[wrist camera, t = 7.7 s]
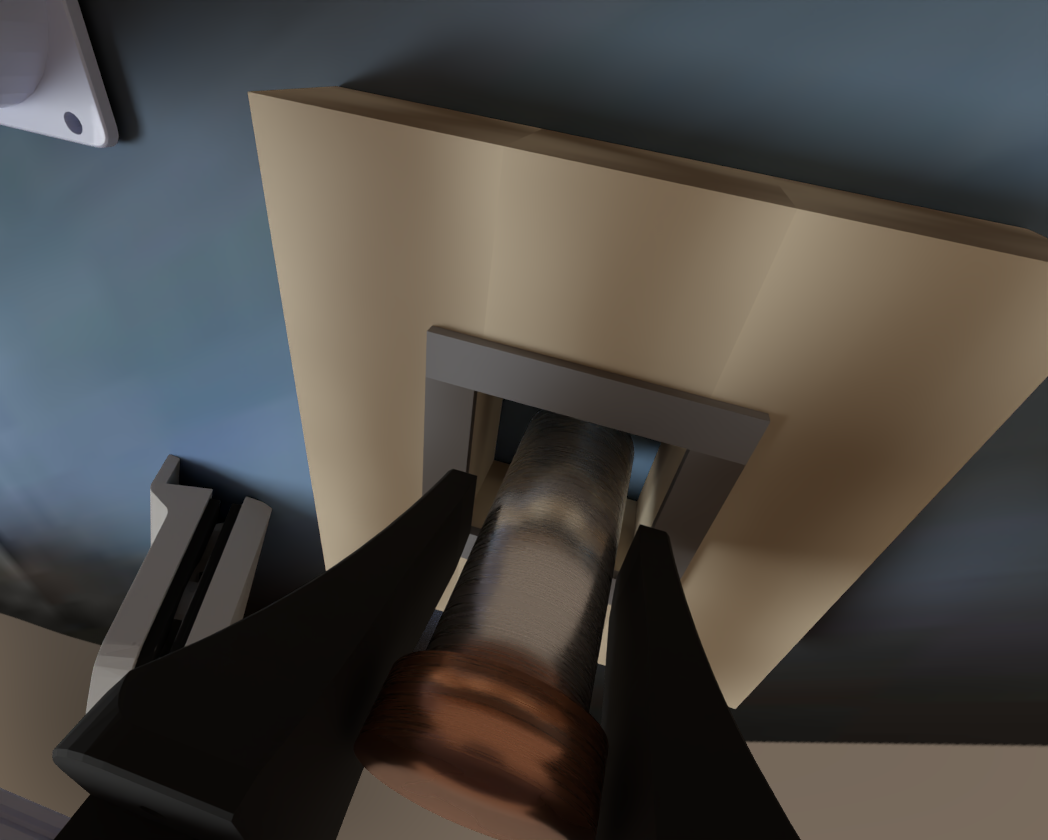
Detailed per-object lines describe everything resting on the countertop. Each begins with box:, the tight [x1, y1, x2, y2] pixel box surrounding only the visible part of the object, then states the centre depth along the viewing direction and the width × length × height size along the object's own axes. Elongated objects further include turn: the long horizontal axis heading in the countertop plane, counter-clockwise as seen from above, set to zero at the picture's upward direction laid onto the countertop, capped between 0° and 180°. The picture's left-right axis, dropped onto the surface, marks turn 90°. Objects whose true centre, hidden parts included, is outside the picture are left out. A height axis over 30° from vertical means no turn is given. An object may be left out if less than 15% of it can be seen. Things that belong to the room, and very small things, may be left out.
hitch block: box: [248, 86, 1048, 709], centre depth 14 cm, size 15×15×3 cm
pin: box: [353, 409, 634, 840], centre depth 10 cm, size 4×4×8 cm
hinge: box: [86, 455, 272, 714], centre depth 24 cm, size 17×5×10 cm, turn 151°
